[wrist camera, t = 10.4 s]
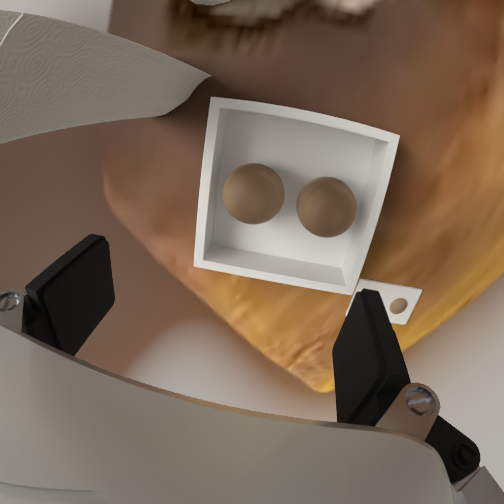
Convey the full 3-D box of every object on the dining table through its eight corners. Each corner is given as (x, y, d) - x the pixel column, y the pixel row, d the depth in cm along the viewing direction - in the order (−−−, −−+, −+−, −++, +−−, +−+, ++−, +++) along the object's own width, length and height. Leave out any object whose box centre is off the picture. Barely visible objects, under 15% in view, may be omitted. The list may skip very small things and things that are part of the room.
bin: (384, 132, 23) (399, 135, 19) (345, 273, 29) (351, 295, 26) (222, 99, 23) (210, 96, 20) (204, 247, 30) (193, 266, 26)
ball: (356, 178, 25) (370, 192, 20) (342, 229, 27) (352, 253, 22) (301, 166, 25) (304, 177, 20) (290, 218, 27) (291, 241, 23)
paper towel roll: (121, 102, 24) (-84, 137, 5) (148, 48, 21) (-52, 7, 2) (180, 132, 25) (-28, 204, 6) (212, 75, 22) (18, 12, 3)
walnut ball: (290, 164, 25) (289, 176, 20) (280, 217, 27) (276, 239, 23) (233, 154, 25) (220, 164, 21) (226, 207, 27) (212, 227, 23)
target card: (421, 288, 29) (422, 290, 29) (404, 323, 32) (405, 325, 31) (359, 277, 30) (360, 279, 29) (345, 315, 32) (345, 317, 31)
